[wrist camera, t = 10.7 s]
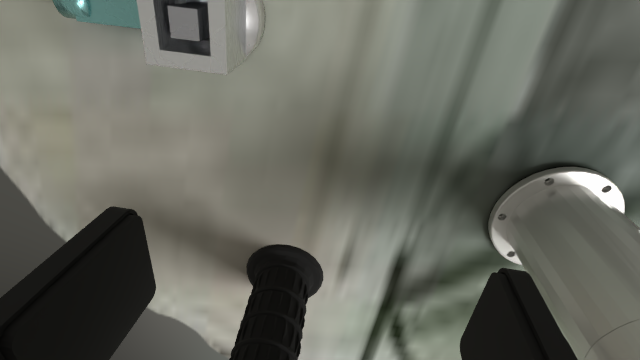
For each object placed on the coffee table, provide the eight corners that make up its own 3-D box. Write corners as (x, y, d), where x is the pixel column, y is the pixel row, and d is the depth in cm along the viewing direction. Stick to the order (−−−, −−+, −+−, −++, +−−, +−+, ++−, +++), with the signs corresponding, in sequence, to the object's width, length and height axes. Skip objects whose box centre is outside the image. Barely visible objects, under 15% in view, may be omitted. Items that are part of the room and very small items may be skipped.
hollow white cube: (245, -22, 26) (223, -20, 21) (246, 59, 29) (227, 74, 24) (168, -31, 26) (131, -32, 21) (177, 50, 29) (146, 64, 24)
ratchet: (266, -37, 27) (240, -40, 21) (264, 67, 31) (243, 89, 25) (65, -60, 27) (-16, -69, 21) (90, 45, 32) (28, 62, 26)
